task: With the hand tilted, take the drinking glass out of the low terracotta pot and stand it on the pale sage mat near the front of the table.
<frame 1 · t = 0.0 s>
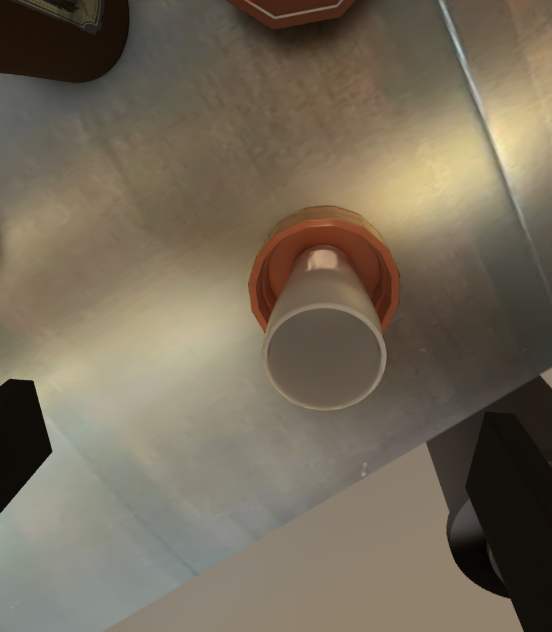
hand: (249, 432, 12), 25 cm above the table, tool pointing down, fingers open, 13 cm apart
drinking glass: (322, 272, 36), resting in pot
olive oil: (69, 10, 30), on the table
pot: (322, 271, 36), on the table
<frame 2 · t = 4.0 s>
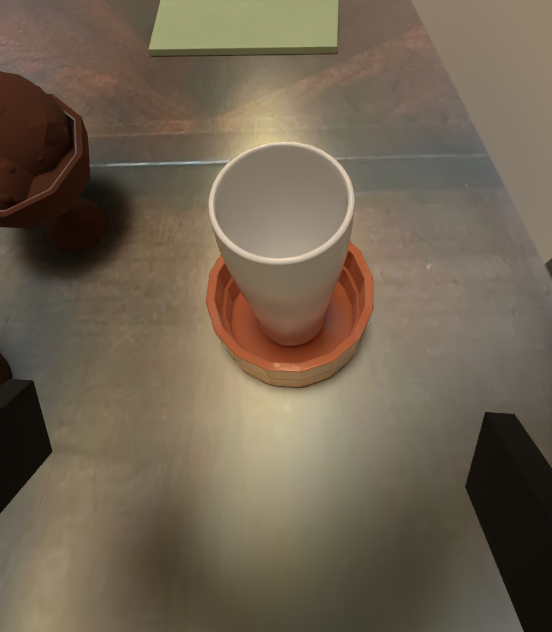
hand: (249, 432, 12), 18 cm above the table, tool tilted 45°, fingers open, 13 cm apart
ice cream bowl: (78, 227, 38), on the table
drinking glass: (291, 316, 33), resting in pot
pot: (291, 317, 33), on the table
mat: (245, 25, 45), on the table
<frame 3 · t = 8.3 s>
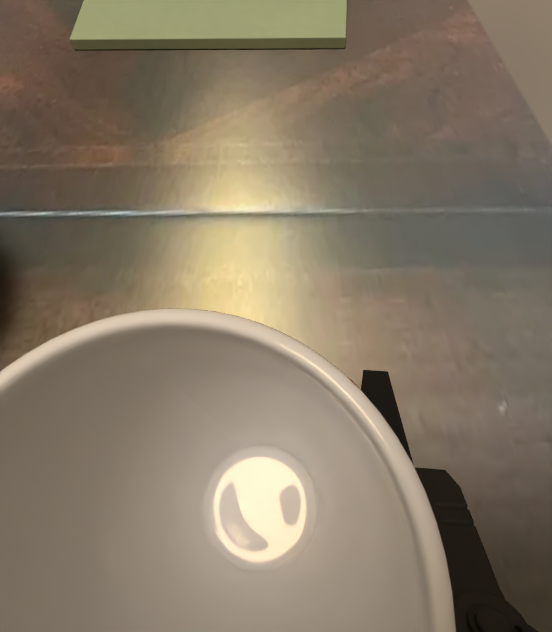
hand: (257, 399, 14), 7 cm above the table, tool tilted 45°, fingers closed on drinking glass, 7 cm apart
drinking glass: (264, 502, 18), resting in pot, touching gripper
mat: (214, 8, 31), on the table
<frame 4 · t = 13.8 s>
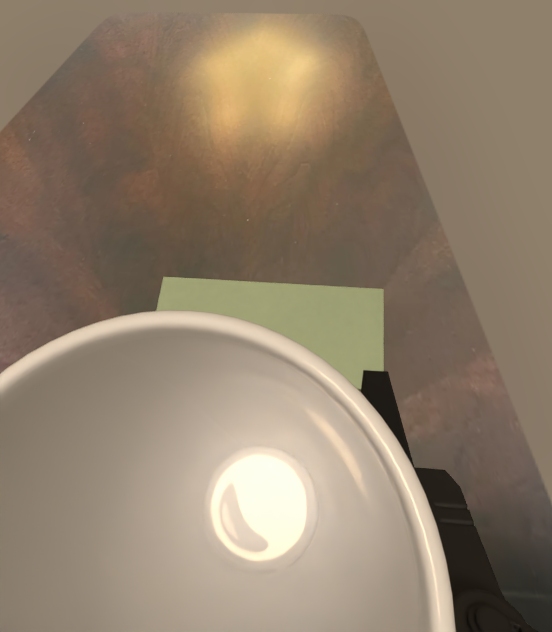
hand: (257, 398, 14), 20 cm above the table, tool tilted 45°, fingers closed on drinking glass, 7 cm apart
drinking glass: (264, 502, 18), point 14 cm above the table, touching gripper
mat: (266, 332, 36), on the table
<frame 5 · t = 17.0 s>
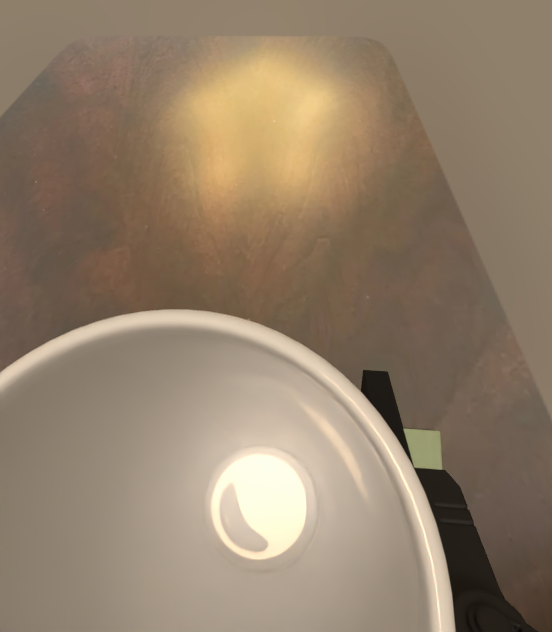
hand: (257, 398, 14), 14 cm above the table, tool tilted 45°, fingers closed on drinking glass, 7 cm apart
drinking glass: (264, 502, 18), point 8 cm above the table, touching gripper
mat: (277, 493, 26), on the table
when the fingers open (7 cm above the table, at t = 19.4 s): drinking glass stays where it is, resting on mat.
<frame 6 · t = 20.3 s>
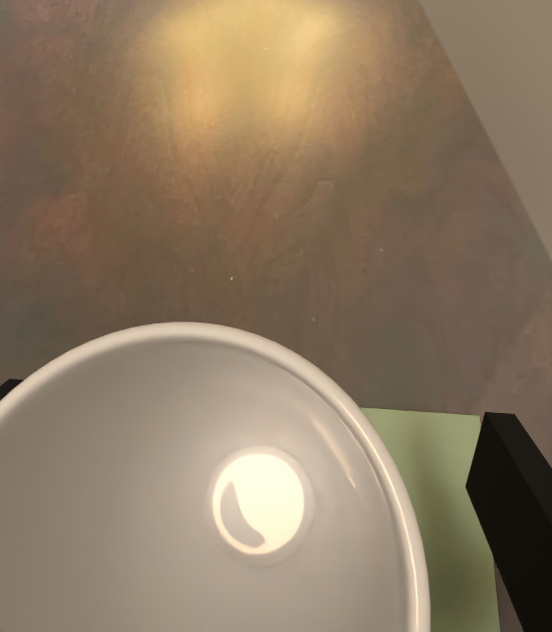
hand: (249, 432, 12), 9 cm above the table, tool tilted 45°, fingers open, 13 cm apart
drinking glass: (263, 500, 19), point 1 cm above the table, touching mat
mat: (265, 498, 20), on the table
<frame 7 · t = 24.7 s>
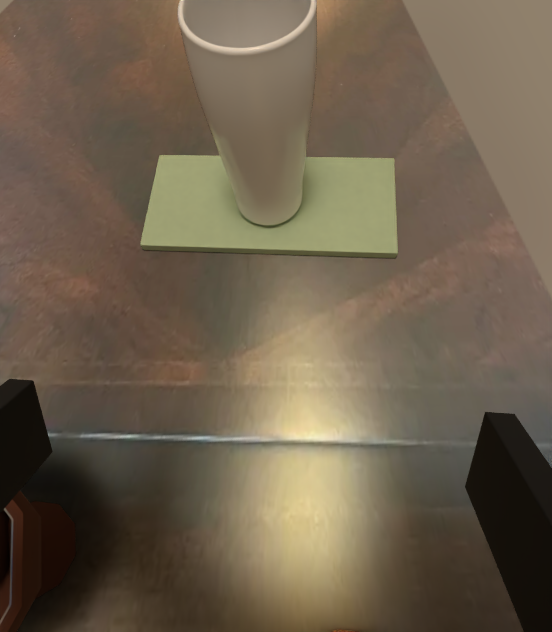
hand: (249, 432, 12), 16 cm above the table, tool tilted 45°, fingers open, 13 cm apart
ice cream bowl: (35, 548, 26), on the table
drinking glass: (269, 202, 33), point 1 cm above the table, touching mat
mat: (270, 206, 34), on the table
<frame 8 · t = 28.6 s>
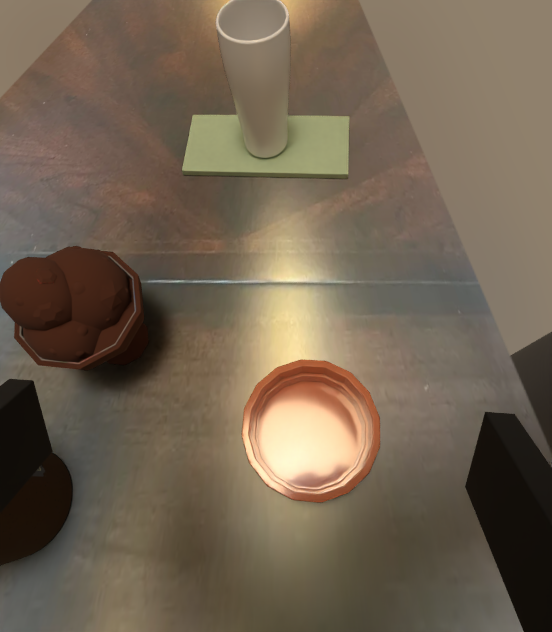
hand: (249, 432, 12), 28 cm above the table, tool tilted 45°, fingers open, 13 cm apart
ice cream bowl: (124, 340, 43), on the table
drinking glass: (266, 144, 51), point 1 cm above the table, touching mat
olive oil: (25, 500, 38), on the table
pot: (309, 432, 39), on the table
mat: (267, 147, 51), on the table
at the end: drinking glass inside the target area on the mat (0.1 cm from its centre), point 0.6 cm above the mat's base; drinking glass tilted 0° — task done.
